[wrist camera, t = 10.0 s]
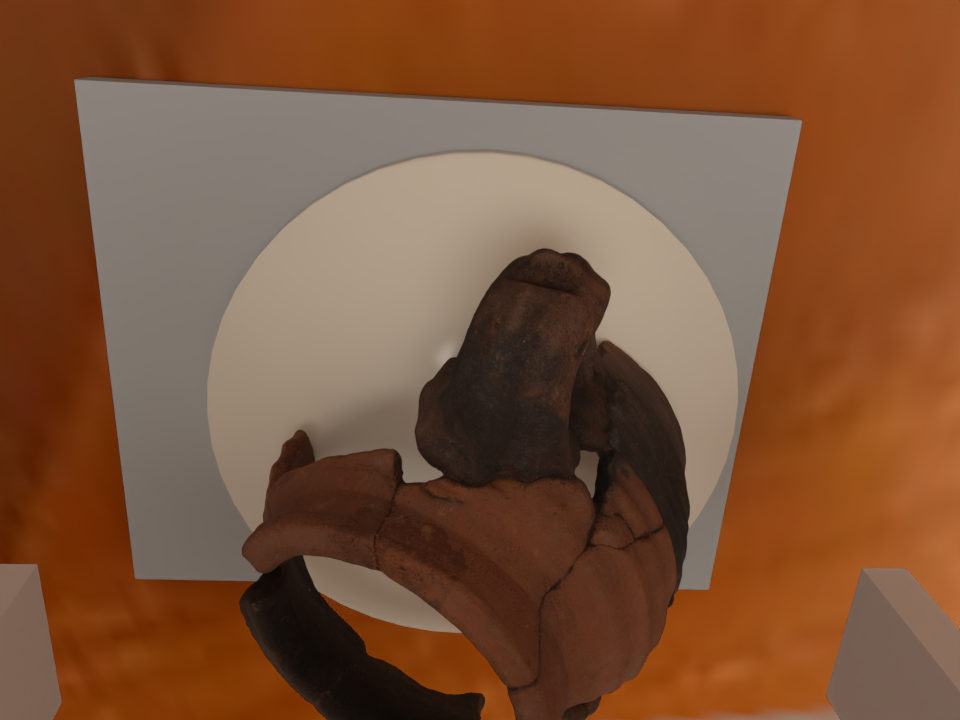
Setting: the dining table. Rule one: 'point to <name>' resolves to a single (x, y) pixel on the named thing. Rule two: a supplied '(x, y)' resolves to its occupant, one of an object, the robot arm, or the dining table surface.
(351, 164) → the felt placemat
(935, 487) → the dining table surface
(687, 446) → the cream round plate
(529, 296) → the broken terracotta ring
